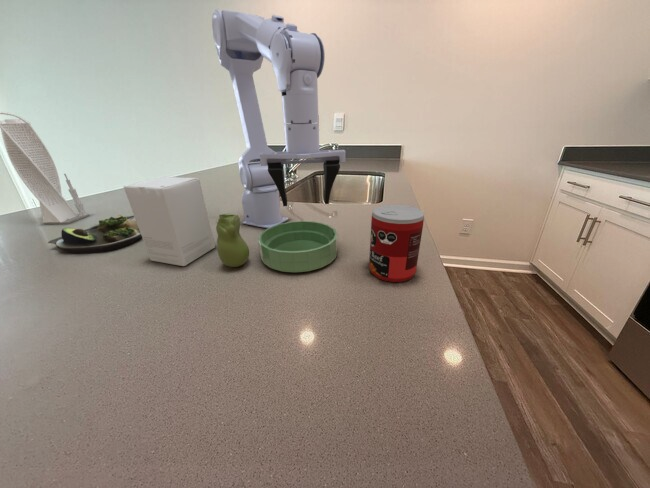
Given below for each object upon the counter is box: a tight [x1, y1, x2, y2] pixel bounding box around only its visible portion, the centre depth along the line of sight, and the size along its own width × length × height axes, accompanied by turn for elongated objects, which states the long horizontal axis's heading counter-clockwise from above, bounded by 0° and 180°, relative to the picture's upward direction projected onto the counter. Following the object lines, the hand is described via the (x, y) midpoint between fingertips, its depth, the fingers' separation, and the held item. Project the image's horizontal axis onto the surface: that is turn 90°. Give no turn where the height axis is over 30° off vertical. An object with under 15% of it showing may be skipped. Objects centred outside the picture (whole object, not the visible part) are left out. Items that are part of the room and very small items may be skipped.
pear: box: [215, 213, 250, 268], centre depth 46 cm, size 6×5×10 cm
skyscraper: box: [0, 111, 90, 225], centre depth 68 cm, size 8×8×28 cm
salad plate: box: [47, 214, 142, 254], centre depth 62 cm, size 19×18×5 cm
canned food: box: [368, 204, 425, 283], centre depth 43 cm, size 8×8×11 cm
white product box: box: [123, 176, 216, 267], centre depth 50 cm, size 9×9×15 cm
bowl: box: [258, 220, 339, 273], centre depth 51 cm, size 15×15×4 cm
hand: (306, 203), depth 48 cm, fingers open, 7 cm apart
